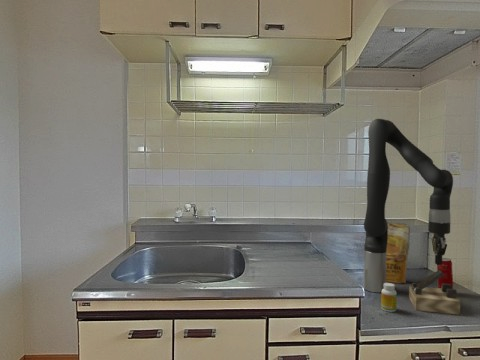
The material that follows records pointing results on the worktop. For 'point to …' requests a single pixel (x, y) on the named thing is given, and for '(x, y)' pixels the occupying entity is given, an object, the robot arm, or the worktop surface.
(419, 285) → the bar
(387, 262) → the pancake mix bag
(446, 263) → the beverage can
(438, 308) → the oak box
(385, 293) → the supplement bottle
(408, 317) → the worktop surface
